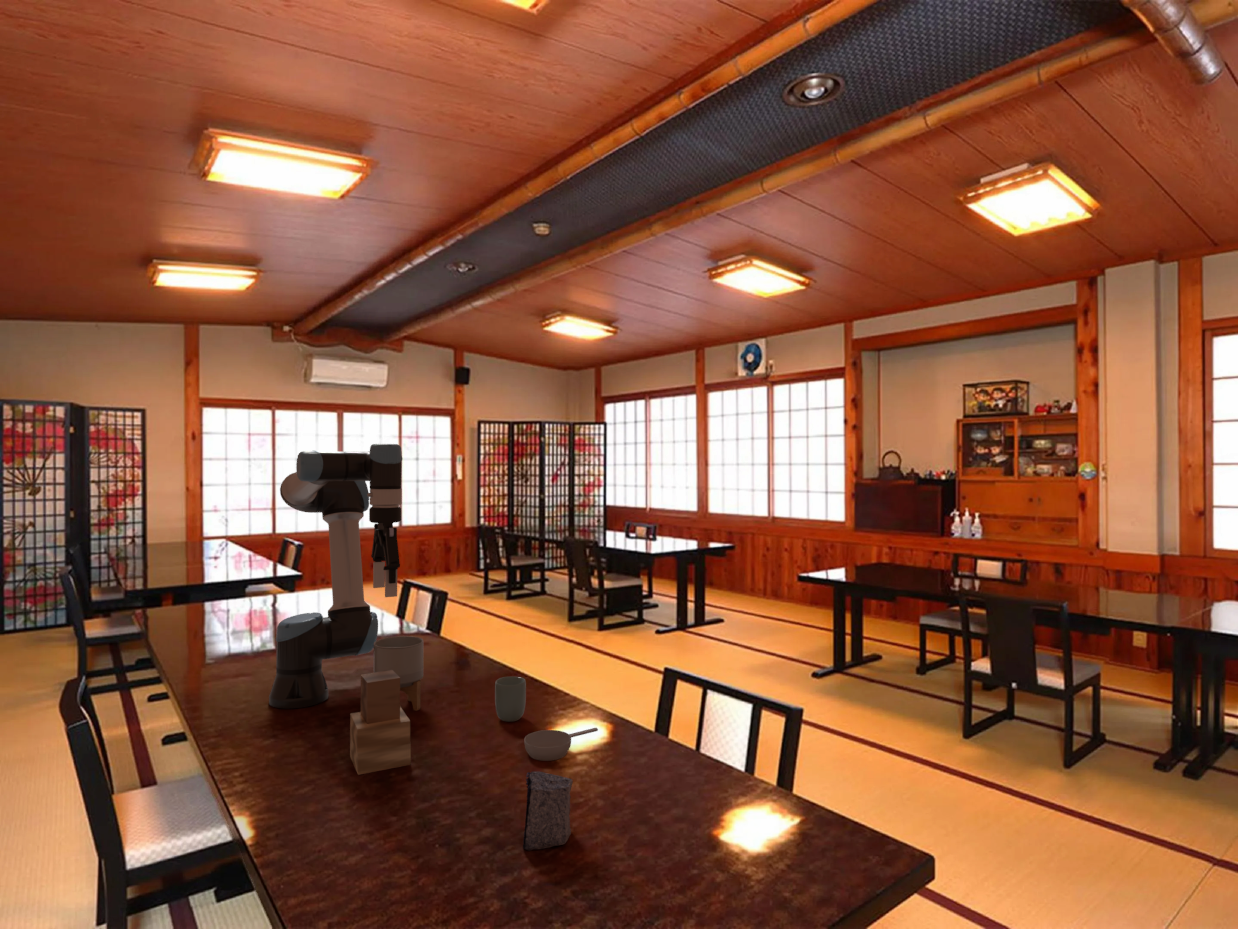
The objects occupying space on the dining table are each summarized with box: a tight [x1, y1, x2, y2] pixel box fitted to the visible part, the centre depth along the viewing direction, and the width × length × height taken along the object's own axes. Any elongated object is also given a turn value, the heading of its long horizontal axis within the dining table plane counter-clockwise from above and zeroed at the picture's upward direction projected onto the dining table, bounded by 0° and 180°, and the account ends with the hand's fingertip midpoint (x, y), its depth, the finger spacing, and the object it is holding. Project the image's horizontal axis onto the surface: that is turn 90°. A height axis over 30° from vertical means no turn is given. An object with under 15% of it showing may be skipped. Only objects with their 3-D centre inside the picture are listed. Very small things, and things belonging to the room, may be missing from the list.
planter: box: [373, 635, 424, 711], centre depth 197 cm, size 13×13×18 cm
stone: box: [522, 771, 573, 851], centre depth 128 cm, size 12×10×10 cm
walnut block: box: [360, 670, 401, 724], centre depth 162 cm, size 7×7×9 cm
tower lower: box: [349, 735, 412, 776], centre depth 161 cm, size 11×11×5 cm
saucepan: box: [523, 727, 599, 762], centre depth 168 cm, size 11×18×4 cm, turn 117°
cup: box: [494, 676, 527, 723], centre depth 188 cm, size 8×8×10 cm
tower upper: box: [349, 706, 411, 753], centre depth 161 cm, size 11×11×5 cm
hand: (384, 592), depth 179 cm, fingers open, 13 cm apart
